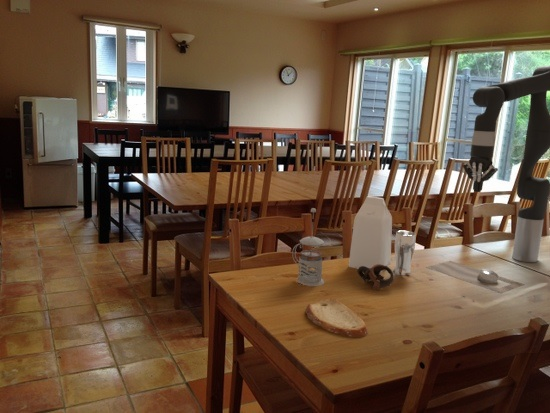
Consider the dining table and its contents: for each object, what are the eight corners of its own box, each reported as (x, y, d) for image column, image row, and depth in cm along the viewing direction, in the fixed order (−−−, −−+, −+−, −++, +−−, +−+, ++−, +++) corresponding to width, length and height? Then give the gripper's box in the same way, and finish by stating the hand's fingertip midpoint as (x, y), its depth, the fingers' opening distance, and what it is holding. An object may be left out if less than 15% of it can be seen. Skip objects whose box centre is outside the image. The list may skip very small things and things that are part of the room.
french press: (315, 288, 158) (320, 212, 153) (285, 280, 164) (288, 207, 159) (329, 280, 166) (333, 207, 161) (299, 272, 172) (302, 203, 167)
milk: (390, 265, 184) (396, 197, 179) (379, 273, 175) (385, 202, 169) (360, 259, 191) (365, 193, 185) (348, 266, 181) (353, 197, 176)
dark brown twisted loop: (390, 283, 167) (398, 267, 162) (385, 303, 161) (392, 287, 155) (357, 270, 170) (363, 254, 164) (350, 289, 163) (356, 273, 157)
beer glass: (410, 271, 179) (414, 231, 176) (413, 277, 172) (417, 236, 169) (391, 269, 179) (394, 230, 176) (393, 276, 172) (397, 235, 169)
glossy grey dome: (484, 274, 172) (487, 267, 171) (498, 284, 168) (502, 277, 167) (473, 277, 169) (477, 270, 168) (488, 287, 165) (491, 280, 164)
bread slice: (367, 340, 125) (368, 326, 125) (298, 330, 129) (298, 317, 129) (370, 312, 142) (371, 300, 142) (309, 304, 146) (310, 292, 146)
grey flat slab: (450, 263, 189) (450, 260, 188) (524, 287, 166) (524, 284, 166) (425, 270, 180) (425, 267, 180) (500, 296, 157) (500, 292, 157)
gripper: (506, 145, 173) (499, 193, 176) (472, 142, 183) (466, 188, 187) (494, 145, 169) (488, 195, 172) (460, 142, 179) (455, 189, 183)
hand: (477, 191), depth 179 cm, fingers closed
